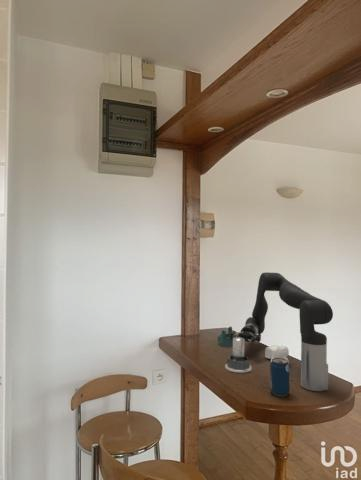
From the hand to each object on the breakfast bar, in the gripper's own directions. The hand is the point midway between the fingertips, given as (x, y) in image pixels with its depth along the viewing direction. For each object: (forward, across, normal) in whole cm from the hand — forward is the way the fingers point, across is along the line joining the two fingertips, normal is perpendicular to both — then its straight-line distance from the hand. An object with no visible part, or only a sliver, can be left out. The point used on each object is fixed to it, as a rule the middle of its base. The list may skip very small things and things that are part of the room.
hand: (242, 340), depth 163 cm
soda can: (+29, +20, +10) cm, 36 cm away
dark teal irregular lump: (-25, -14, +10) cm, 31 cm away
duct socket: (+9, 0, +10) cm, 14 cm away
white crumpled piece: (-8, +15, +10) cm, 20 cm away
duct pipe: (+9, 0, +9) cm, 13 cm away
